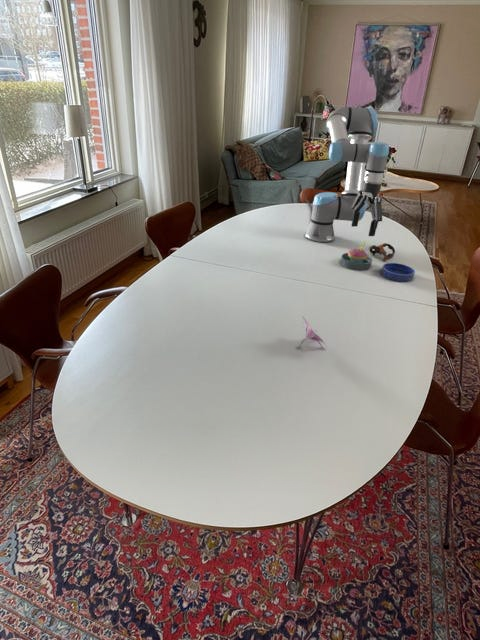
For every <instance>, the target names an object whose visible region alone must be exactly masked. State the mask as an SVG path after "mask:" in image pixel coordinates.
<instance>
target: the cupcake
mask: <svg viewBox="0 0 480 640" xmlns="http://www.w3.org/2000/svg"><path fill="white" fill-rule="evenodd" d="M365 244H366V240H364V241H363V242H362V245H361V247H360V248H352V249H350V250H349V251H348V252H347V253H348V256H349V257H350V262H353V263H362V262H363V260H364V259H366V258H367V256H368V253H367V252H366V251H365V250H364V246H365Z"/></svg>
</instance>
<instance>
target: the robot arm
mask: <svg viewBox="0 0 480 640" xmlns="http://www.w3.org/2000/svg"><path fill="white" fill-rule="evenodd" d="M325 122H326V123H325V126H326V130H327V132H328V133H329V135H330V139H331V143H330V145H329V150H328V159H329V160H330V161H333V162H344V163H345V162H346V163H347V168H346V177H345V186H344V190H343V191H342V192H341V193H340V196H339V194H338V193H336V192H332V191H325V192H319V193H317V194H315V195H314V198H313V201H312V205H311V203H310V201H309V200H308V199H307V196H304V200H305V202H307V204H308V206H309V208H310V212H311V213H310V214H311V215H310V216H311V218H310V222H309V225H308V226H307V229H306V231H305V235H304V236H305V238H306V239H307V240H309V241H313V242H317V243H330V242H333V241H334V240H335V230H334V221H335V220H336V221H348V222H351V227H358V225H359V222H360V221H361V220H362V219H363V218H364V216H365V213H366V211H367V206H368V208H369V210H370V214H371V219H372V220H371V221H370V225H369V230H368V237H375V235H376V232H377V231H376V230H377V229H378V224H379V223H380V222H383V211H382V208H383V207H382V200H383V198H382V196H378V194H379V193H380V192H381V188H382V183H383V180H384V174H385V170H386V165H387V161H388V156H389V153H390V152H389V151H390V144H389V143H386V142H380V141H373V142H371V143H369V141H370V140H372V138H373V136H374V135H375V134H376V132H377V128H378V113H377V111H376V110H375V109H373V108H369V107H353V106H342V107H338V108H336V109H335V110H333V111H332V112H330V114H329V115H328V116H327V119H326V121H325Z"/></svg>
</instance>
